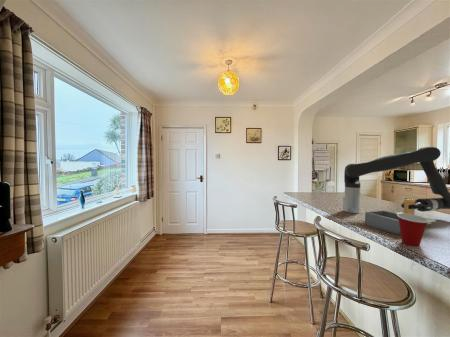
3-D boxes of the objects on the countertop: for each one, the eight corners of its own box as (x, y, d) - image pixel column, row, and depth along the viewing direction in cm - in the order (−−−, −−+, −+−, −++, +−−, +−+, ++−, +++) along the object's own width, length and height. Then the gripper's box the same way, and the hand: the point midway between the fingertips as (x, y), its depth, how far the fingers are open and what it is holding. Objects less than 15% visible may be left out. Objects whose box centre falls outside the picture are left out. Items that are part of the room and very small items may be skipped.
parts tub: (364, 224, 122) (365, 212, 122) (383, 222, 126) (383, 210, 126) (399, 235, 105) (399, 221, 105) (418, 232, 109) (419, 218, 109)
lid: (383, 217, 132) (384, 197, 131) (400, 215, 136) (401, 196, 136) (418, 226, 115) (419, 203, 114) (435, 224, 119) (436, 201, 118)
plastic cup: (415, 250, 88) (417, 220, 87) (389, 240, 98) (390, 214, 98) (435, 247, 91) (436, 219, 90) (407, 238, 101) (408, 212, 101)
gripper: (413, 196, 136) (393, 197, 131) (441, 200, 123) (420, 202, 117) (412, 208, 136) (392, 210, 131) (440, 213, 123) (419, 216, 118)
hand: (405, 206), depth 124 cm, fingers closed on lid, 3 cm apart
